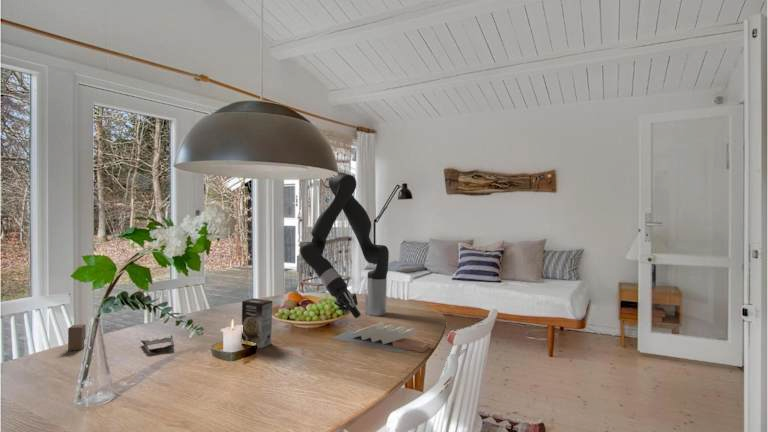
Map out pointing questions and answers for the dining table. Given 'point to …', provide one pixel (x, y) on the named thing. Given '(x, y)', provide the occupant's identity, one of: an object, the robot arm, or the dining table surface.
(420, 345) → the domino
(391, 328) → the domino
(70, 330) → the wooden block
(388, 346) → the grey ridged plate
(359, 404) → the dining table surface
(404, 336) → the domino
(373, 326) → the domino
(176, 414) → the dining table surface
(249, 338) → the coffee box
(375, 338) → the domino
